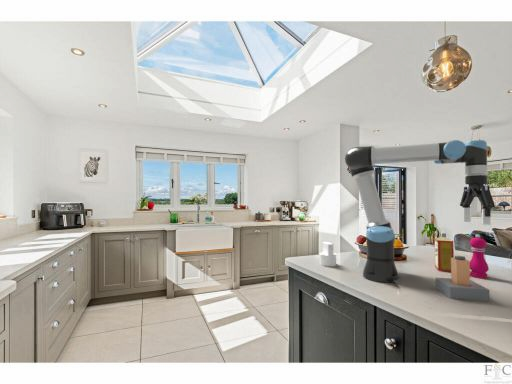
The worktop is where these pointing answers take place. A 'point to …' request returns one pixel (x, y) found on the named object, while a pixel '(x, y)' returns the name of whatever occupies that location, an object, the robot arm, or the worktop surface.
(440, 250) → the baking soda box
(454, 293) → the grey square socket block
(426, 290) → the worktop surface
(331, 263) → the cylinder with rectangular tab
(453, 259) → the plug
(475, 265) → the pepper mill
